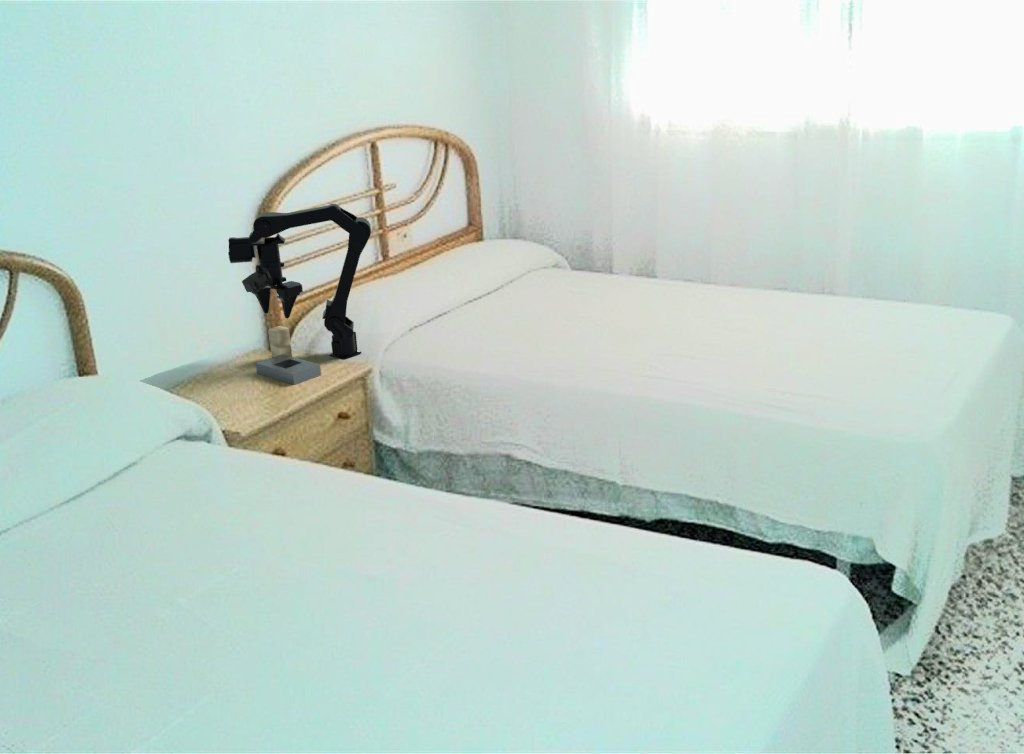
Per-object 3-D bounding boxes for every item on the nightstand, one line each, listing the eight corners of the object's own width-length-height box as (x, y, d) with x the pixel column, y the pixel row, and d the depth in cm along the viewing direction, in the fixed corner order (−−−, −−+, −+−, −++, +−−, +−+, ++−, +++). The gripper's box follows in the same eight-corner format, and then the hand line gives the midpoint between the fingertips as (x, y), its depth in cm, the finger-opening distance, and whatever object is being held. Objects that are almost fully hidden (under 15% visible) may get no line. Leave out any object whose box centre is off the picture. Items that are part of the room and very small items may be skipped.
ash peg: (283, 356, 293) (279, 325, 290) (292, 358, 291) (288, 328, 288) (272, 360, 290) (268, 329, 287) (280, 362, 288) (277, 331, 285)
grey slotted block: (283, 364, 286) (282, 354, 285) (321, 375, 276) (319, 364, 275) (257, 373, 280) (255, 362, 279) (294, 384, 270) (292, 373, 269)
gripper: (224, 262, 281) (232, 317, 286) (266, 270, 269) (274, 328, 275) (257, 254, 289) (264, 308, 294) (300, 261, 277) (307, 317, 283)
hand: (276, 315), depth 286 cm, fingers open, 9 cm apart
